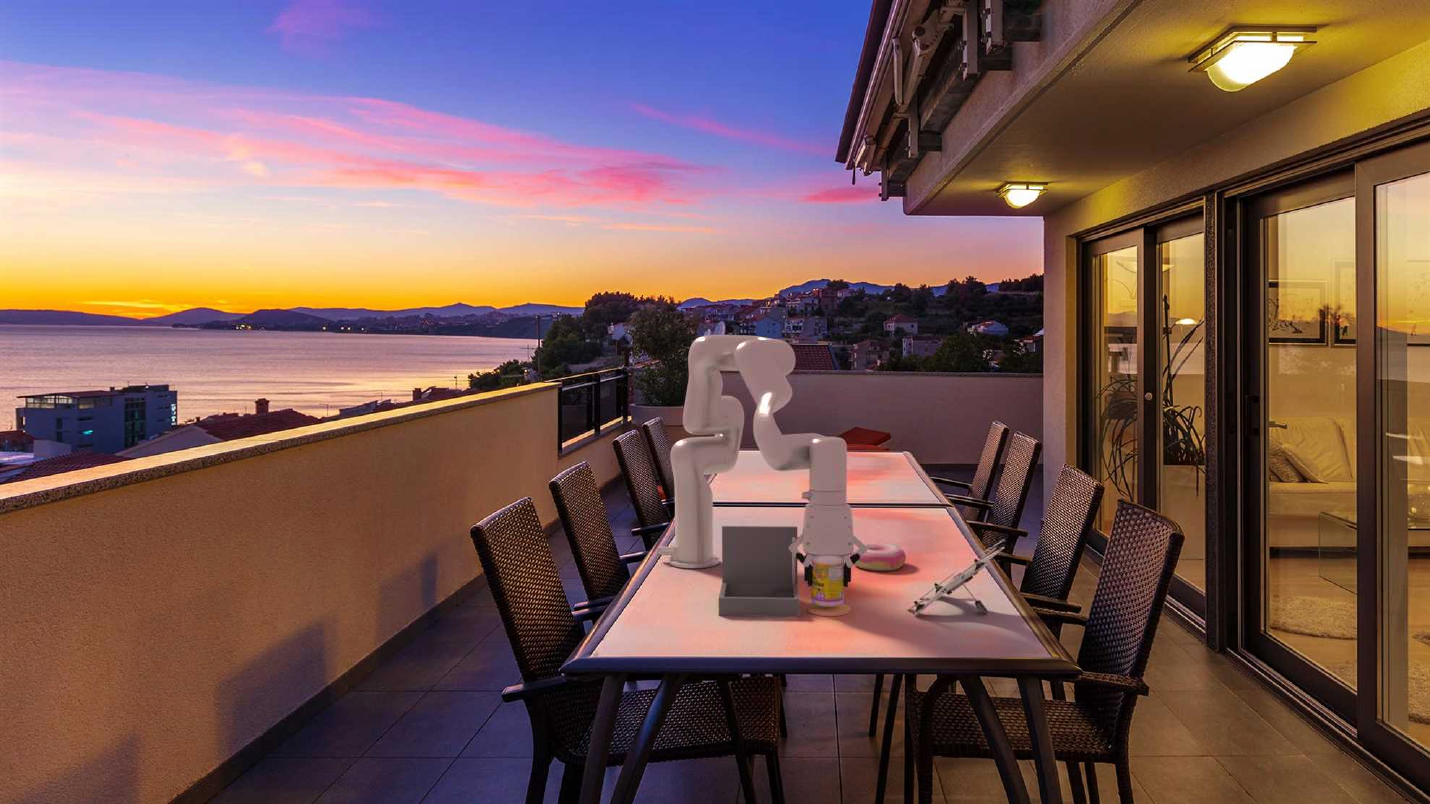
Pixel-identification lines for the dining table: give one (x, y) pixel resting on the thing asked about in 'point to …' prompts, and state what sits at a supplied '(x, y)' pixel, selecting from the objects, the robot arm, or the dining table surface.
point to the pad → (828, 610)
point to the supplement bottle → (827, 580)
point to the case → (758, 572)
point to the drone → (960, 581)
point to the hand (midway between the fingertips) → (827, 584)
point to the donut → (881, 557)
